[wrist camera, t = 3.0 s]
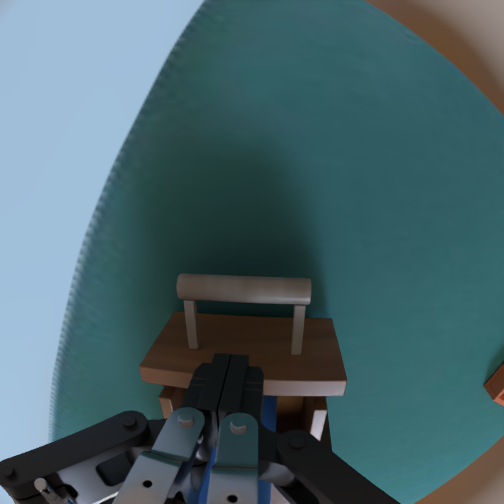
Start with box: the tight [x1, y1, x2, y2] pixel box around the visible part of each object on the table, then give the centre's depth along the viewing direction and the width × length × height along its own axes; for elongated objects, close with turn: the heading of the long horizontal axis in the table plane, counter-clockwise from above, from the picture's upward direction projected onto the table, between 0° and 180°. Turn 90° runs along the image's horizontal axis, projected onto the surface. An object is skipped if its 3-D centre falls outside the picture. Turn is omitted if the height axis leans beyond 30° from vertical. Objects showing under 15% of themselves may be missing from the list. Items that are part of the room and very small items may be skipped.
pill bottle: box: [199, 395, 277, 504], centre depth 16 cm, size 4×4×14 cm
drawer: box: [139, 273, 347, 441], centre depth 20 cm, size 18×11×7 cm, turn 0°
